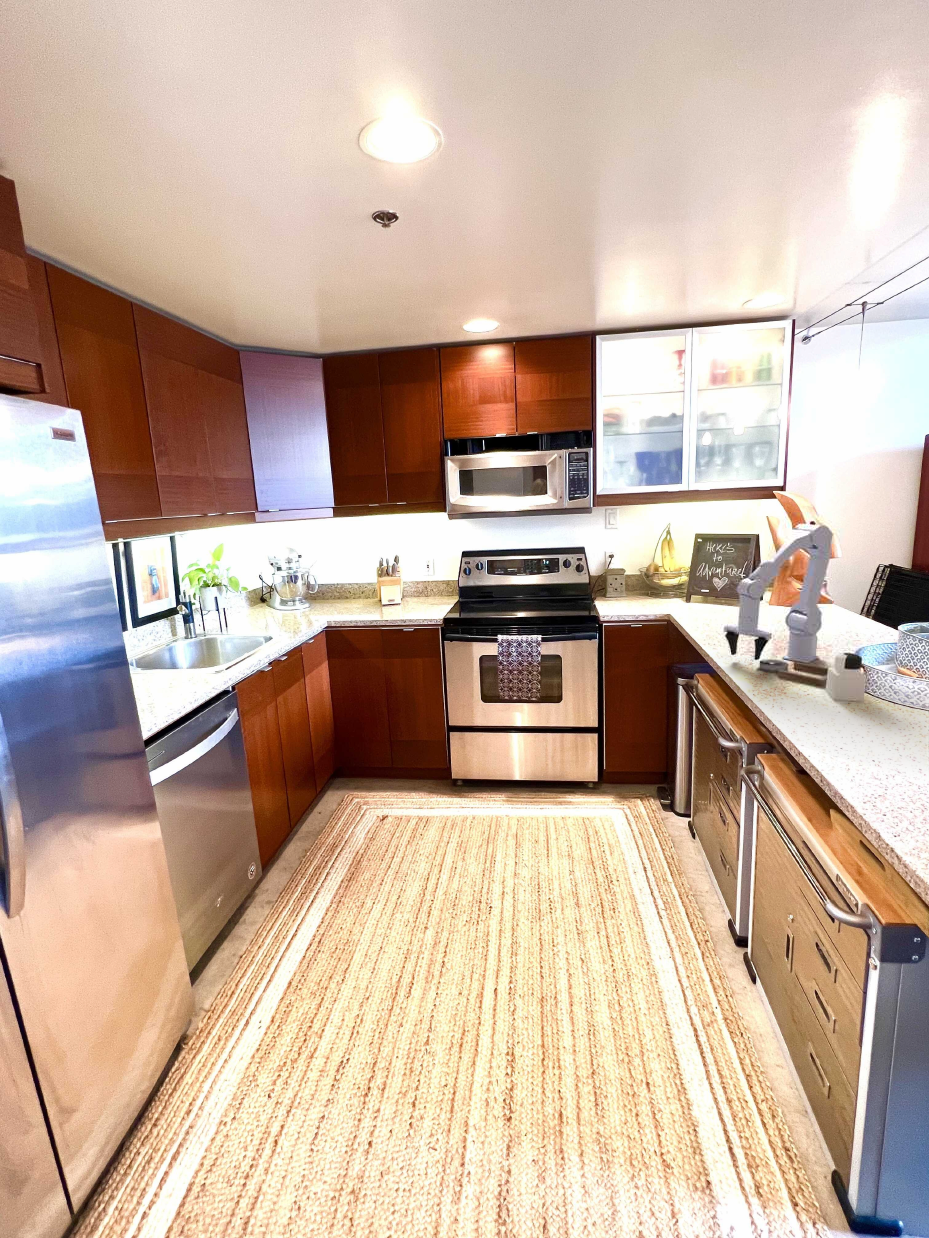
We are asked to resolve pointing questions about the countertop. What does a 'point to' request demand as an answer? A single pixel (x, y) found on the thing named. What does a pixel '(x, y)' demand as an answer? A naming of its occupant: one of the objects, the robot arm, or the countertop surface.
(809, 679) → the cradle
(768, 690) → the countertop surface
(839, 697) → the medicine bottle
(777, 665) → the ring
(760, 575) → the robot arm
